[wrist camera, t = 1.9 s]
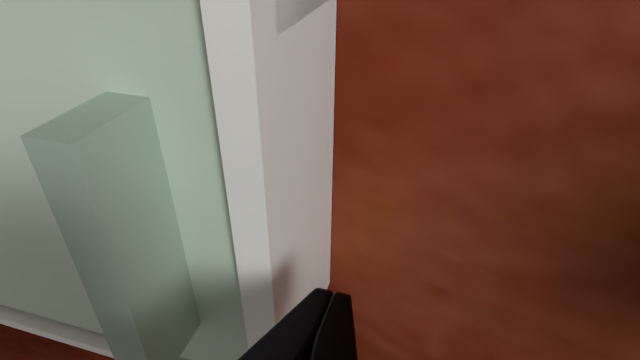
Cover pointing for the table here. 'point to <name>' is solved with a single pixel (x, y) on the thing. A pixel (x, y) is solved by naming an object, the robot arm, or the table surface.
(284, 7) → the box
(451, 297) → the table surface
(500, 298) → the table surface
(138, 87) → the lid
